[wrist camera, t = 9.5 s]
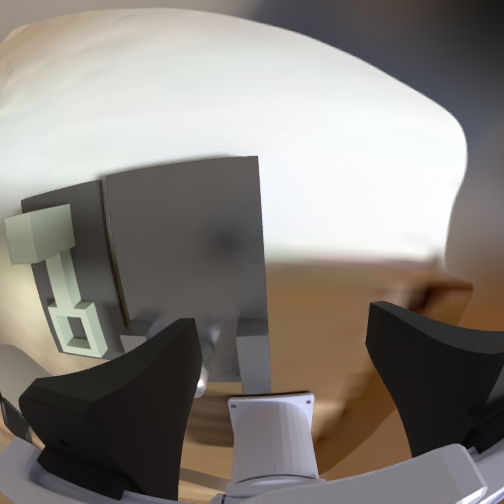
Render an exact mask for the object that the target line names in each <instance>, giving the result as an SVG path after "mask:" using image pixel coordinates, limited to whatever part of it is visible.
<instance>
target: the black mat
mask: <svg viewBox="0 0 504 504" xmlns="http://www.w3.org/2000/svg"><path fill="white" fill-rule="evenodd" d="M66 204H70V211H71V219H72V226H73V233H74V239H75V245H76V246H74V247H72V248H70V253H71V258H72V263H73V267H74V272H75V276H76V281H77V285H78V289H79V293H80V297H81V300H82V302H94V305H95V309H96V312H97V316H98V319H99V323H100V326H101V329H102V332H103V336H104V339H105V342H106V345H107V348H108V350H107V351H106V352H105V353H104V355H103V356H102V357H101V358H100V357H93V356H86V355H80V354H74V353H68V352H64V351H63V349H62V346H61V344H60V341H59V339H58V336H57V333H56V330H55V328H54V325H53V322H52V319H51V316H50V313H49V310H48V306H50V305H51V304H52V303H54V302H55V297H54V294H53V290H52V286H51V282H50V278H49V274H48V270H47V266H46V261H45V260H43V261H41V262H39V263H31V266H32V271H33V275H34V279H35V283H36V286H37V290H38V294H39V297H40V300H41V304H42V307H43V310H44V313H45V316H46V319H47V322H48V325H49V328H50V330H51V333H52V336H53V338H54V341H55V344H56V346H57V348H58V351H59V352H61V353H66V354H72V355H78V356H84V357H91V358H98V359H106V360H113V359H115V358H117V357H120V356H122V355H124V354H126V353H125V350H124V347H123V344H122V341H121V338H120V334H121V333H122V332H123V330H124V329H125V328H126V327H127V325H126V321H125V317H124V314H123V310H122V306H121V302H120V298H119V293H118V289H117V284H116V280H115V275H114V270H113V265H112V260H111V254H110V249H109V243H108V236H107V230H106V222H105V215H104V206H103V197H102V186H101V180H97V181H92V182H88V183H83V184H79V185H75V186H71V187H67V188H63V189H59V190H55V191H52V192H48V193H44V194H41V195H37V196H34V197H31V198H27V199H24V200H21V206H22V214H24V213H29V212H33V211H37V210H42V209H47V208H51V207H56V206H61V205H66ZM67 319H68V322H69V325H70V328H71V331H72V334H73V336H74V338H77V339H85V340H88V338H87V336H86V333H85V330H84V327H83V323H82V320H81V318H80V317H68V316H67Z"/></svg>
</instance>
